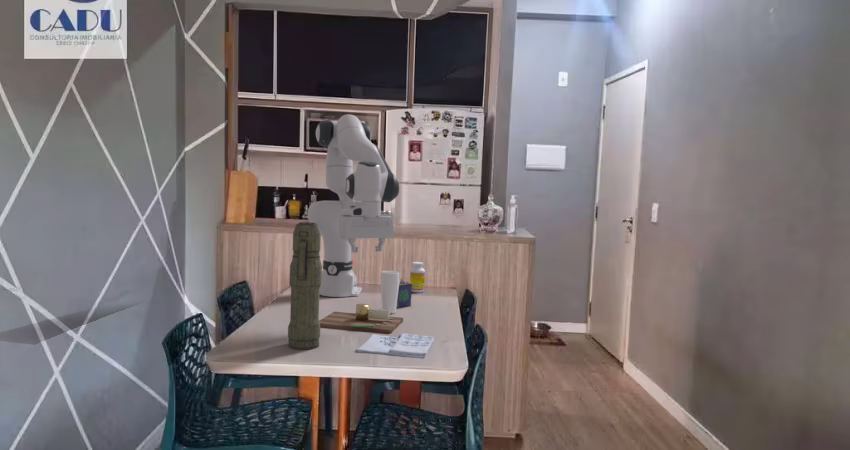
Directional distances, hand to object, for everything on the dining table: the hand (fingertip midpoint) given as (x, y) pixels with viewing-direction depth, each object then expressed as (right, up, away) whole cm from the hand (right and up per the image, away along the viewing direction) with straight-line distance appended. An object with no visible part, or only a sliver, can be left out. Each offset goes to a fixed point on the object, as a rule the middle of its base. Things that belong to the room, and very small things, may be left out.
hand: (366, 251), depth 187 cm
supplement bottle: (+16, -21, +61) cm, 67 cm away
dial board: (-2, -24, 0) cm, 24 cm away
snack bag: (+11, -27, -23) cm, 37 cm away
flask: (+10, -23, +29) cm, 38 cm away
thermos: (-15, -26, -27) cm, 40 cm away
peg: (+2, -23, +1) cm, 23 cm away
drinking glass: (+6, -23, +18) cm, 30 cm away
